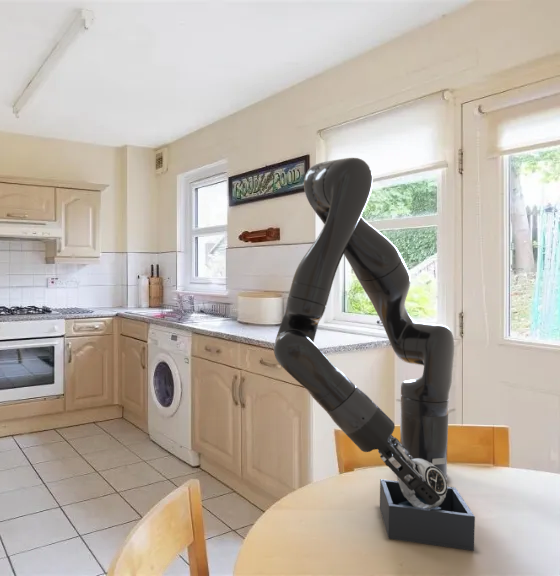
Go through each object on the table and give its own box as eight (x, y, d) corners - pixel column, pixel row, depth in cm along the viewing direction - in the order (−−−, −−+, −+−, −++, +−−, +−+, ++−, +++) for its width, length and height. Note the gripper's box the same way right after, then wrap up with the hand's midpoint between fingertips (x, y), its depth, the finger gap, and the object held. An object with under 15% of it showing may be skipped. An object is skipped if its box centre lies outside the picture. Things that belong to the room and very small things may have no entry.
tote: (379, 508, 90) (380, 478, 89) (454, 517, 86) (455, 487, 86) (388, 538, 79) (389, 505, 79) (474, 551, 76) (474, 516, 76)
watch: (430, 539, 78) (431, 473, 78) (389, 516, 85) (390, 455, 85) (452, 531, 81) (454, 467, 80) (410, 509, 88) (412, 450, 87)
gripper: (381, 416, 77) (459, 496, 74) (371, 394, 91) (437, 461, 88) (346, 445, 79) (421, 524, 76) (341, 419, 93) (405, 485, 90)
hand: (429, 490), depth 82 cm, fingers closed on watch, 7 cm apart
